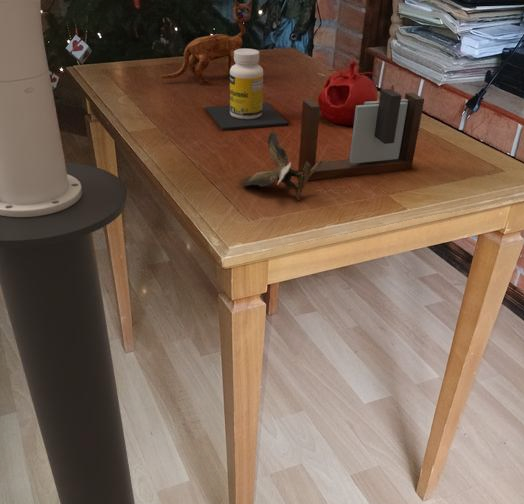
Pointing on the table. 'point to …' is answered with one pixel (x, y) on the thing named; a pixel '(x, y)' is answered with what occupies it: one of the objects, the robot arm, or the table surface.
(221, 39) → the cat figurine
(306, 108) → the dark brown u-shaped frame
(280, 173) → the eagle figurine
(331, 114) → the pomegranate
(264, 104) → the rubber mat
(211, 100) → the table surface
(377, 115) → the sliding panel with handle
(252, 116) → the supplement bottle
